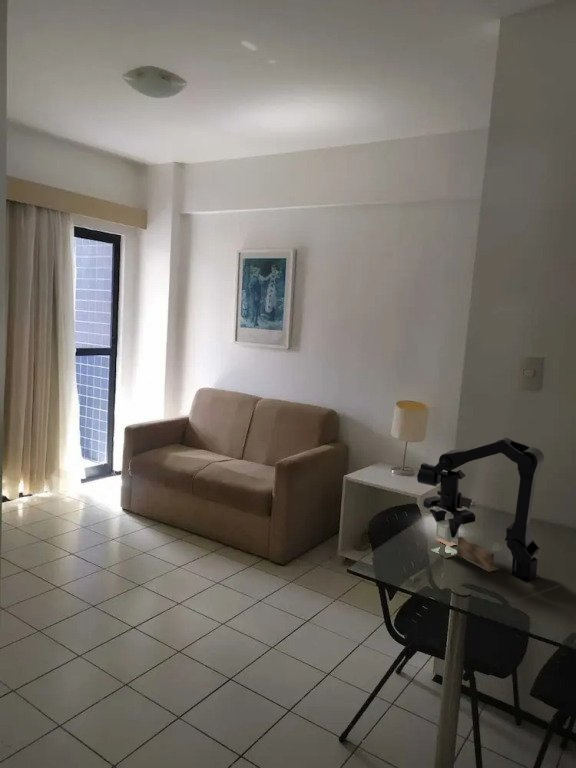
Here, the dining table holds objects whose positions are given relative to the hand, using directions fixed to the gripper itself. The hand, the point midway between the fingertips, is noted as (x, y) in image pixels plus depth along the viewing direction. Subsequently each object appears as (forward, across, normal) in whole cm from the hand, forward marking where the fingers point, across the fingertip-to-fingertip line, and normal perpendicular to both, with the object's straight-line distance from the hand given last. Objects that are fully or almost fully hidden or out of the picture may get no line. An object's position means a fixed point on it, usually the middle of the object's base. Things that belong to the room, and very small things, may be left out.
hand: (447, 534), depth 190 cm
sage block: (+1, 0, 0) cm, 1 cm away
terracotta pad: (+6, +6, -7) cm, 11 cm away
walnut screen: (+6, -10, -2) cm, 12 cm away
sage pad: (+6, 0, 0) cm, 6 cm away
